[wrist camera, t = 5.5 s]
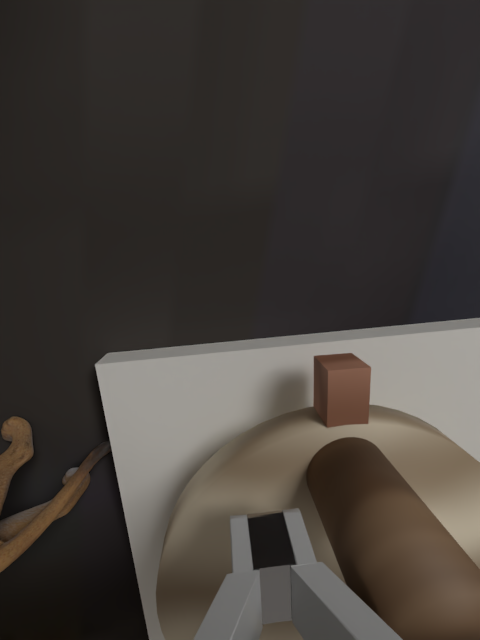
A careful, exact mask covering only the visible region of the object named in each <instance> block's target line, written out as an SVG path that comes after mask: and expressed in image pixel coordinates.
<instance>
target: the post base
mask: <svg viewBox="0 0 480 640" xmlns="http://www.w3.org/2000/svg"><path fill="white" fill-rule="evenodd" d="M343 353H352V354H354V355H355V356H356V357H358V358H359V359H361V360H362V361H363V362H365V363H366V364H367V365H369V366H370V367H371V382H370V402H369V404H370V405H379V406H383V407H387V408H391V409H396V410H400V411H402V412H405V413H407V414H410V415H412V416H415V417H418V418H420V419H421V420H423V421H425V422H427V423H428V424H430V425H432V426H434V427H435V428H437V429H438V430H439V431H441V432H442V433H443V434H444V435H446V436H447V437H448V438H449V439H451V440H452V441H453V442H455V443H456V444H457V445H458V446H460V447H461V448H462V449H463V450H465V451H466V452H467V453H468V454H470V455H471V456H472V457H473V458H475V459H476V460H477V461H478V462H480V318H473V319H462V320H452V321H441V322H431V323H420V324H410V325H399V326H389V327H378V328H367V329H357V330H346V331H336V332H325V333H315V334H304V335H294V336H283V337H273V338H262V339H251V340H241V341H230V342H220V343H209V344H199V345H188V346H178V347H167V348H157V349H146V350H135V351H125V352H114V353H107V354H106V355H105V356H104V357H103V358H102V359H101V360H99V361H98V362H97V363H96V364H95V368H96V373H97V378H98V383H99V388H100V393H101V398H102V403H103V408H104V413H105V418H106V423H107V429H108V434H109V439H110V444H111V449H112V454H113V459H114V464H115V469H116V474H117V479H118V484H119V489H120V494H121V499H122V505H123V510H124V515H125V520H126V525H127V530H128V535H129V540H130V545H131V550H132V555H133V560H134V565H135V570H136V575H137V581H138V586H139V591H140V596H141V601H142V606H143V611H144V616H145V621H146V626H147V631H148V636H149V640H165V638H164V636H163V633H162V631H161V627H160V623H159V619H158V615H157V606H156V586H157V576H158V570H159V564H160V559H161V553H162V548H163V543H164V537H165V533H166V530H167V526H168V522H169V519H170V516H171V514H172V512H173V509H174V507H175V505H176V503H177V500H178V498H179V497H180V495H181V494H182V492H183V490H184V489H185V487H186V486H187V484H188V483H189V481H190V480H191V479H192V477H193V476H194V475H195V474H196V473H197V471H198V470H199V469H200V468H201V467H202V466H203V464H204V463H205V462H206V461H208V460H209V459H210V458H211V457H212V456H213V455H214V454H215V453H216V452H217V451H218V450H220V449H221V448H222V447H223V446H225V445H226V444H228V443H229V442H230V441H232V440H233V439H235V438H236V437H237V436H239V435H240V434H242V433H244V432H246V431H247V430H249V429H251V428H253V427H255V426H257V425H258V424H260V423H262V422H265V421H267V420H270V419H272V418H275V417H277V416H280V415H282V414H285V413H288V412H292V411H296V410H299V409H303V408H307V407H313V399H314V356H317V355H330V354H343Z"/></svg>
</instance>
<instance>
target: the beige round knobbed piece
mask: <svg viewBox="0 0 480 640" xmlns="http://www.w3.org/2000/svg"><path fill="white" fill-rule="evenodd" d="M370 382H371V367H370V366H369V365H367V364H366V363H365V362H363V361H362V360H361V359H359V358H358V357H356V356H355V355H354V354H352V353H343V354H330V355H317V356H314V399H313V407H307V408H303V409H299V410H296V411H292V412H288V413H285V414H282V415H280V416H277V417H275V418H272V419H270V420H267V421H265V422H262V423H260V424H258V425H257V426H255V427H253V428H251V429H249V430H247V431H246V432H244V433H242V434H240V435H239V436H237V437H236V438H235V439H233V440H232V441H230V442H229V443H228V444H226V445H225V446H223V447H222V448H221V449H220V450H218V451H217V452H216V453H215V454H214V455H213V456H212V457H211V458H210V459H209V460H208V461H206V462H205V463H204V464H203V466H202V467H201V468H200V469H199V470H198V471H197V473H196V474H195V475H194V476H193V477H192V479H191V480H190V481H189V483H188V484H187V486H186V487H185V489H184V490H183V492H182V494H181V495H180V497H179V498H178V500H177V503H176V505H175V507H174V509H173V512H172V514H171V516H170V519H169V522H168V526H167V530H166V533H165V537H164V543H163V548H162V553H161V559H160V564H159V570H158V576H157V586H156V606H157V615H158V619H159V623H160V627H161V631H162V633H163V636H164V638H165V640H193V639H194V637H195V635H196V633H197V631H198V629H199V627H200V625H201V623H202V621H203V620H204V618H205V616H206V614H207V612H208V610H209V608H210V606H211V604H212V602H213V600H214V598H215V596H216V594H217V592H218V590H219V588H220V586H221V584H222V582H223V581H224V579H225V577H226V575H227V574H230V573H232V559H231V538H230V516H234V515H245V514H246V515H247V514H253V513H263V512H270V511H278V510H281V511H282V510H287V509H295V508H298V509H299V510H300V512H301V515H302V518H303V521H304V524H305V527H306V530H307V533H308V536H309V539H310V542H311V545H312V548H313V552H314V555H315V558H316V561H317V562H323V563H324V564H325V565H326V566H327V567H328V568H329V569H330V570H331V571H332V572H333V573H334V574H335V575H336V576H338V577H339V578H340V579H341V580H342V581H343V582H344V583H345V584H346V585H347V586H348V587H349V588H350V589H351V590H352V591H353V592H354V593H355V594H356V595H357V596H358V597H359V598H360V599H361V600H362V601H363V602H364V603H365V604H366V605H368V606H369V607H370V608H371V609H372V610H373V611H374V612H375V613H376V614H377V615H378V616H379V617H380V618H381V619H382V620H383V621H384V622H385V623H386V624H387V625H388V626H389V627H390V628H391V629H392V630H393V631H394V632H395V633H396V634H398V635H399V636H400V637H401V638H402V639H403V640H480V462H478V461H477V460H476V459H475V458H473V457H472V456H471V455H470V454H468V453H467V452H466V451H465V450H463V449H462V448H461V447H460V446H458V445H457V444H456V443H455V442H453V441H452V440H451V439H449V438H448V437H447V436H446V435H444V434H443V433H442V432H441V431H439V430H438V429H437V428H435V427H434V426H432V425H430V424H428V423H427V422H425V421H423V420H421V419H420V418H418V417H415V416H412V415H410V414H407V413H405V412H402V411H400V410H396V409H391V408H387V407H383V406H379V405H370V404H369V402H370ZM259 640H304V639H303V638H302V636H301V635H300V633H299V632H298V630H297V629H296V627H295V626H294V624H293V623H292V621H283V622H275V623H269V624H263V628H262V631H261V635H260V638H259Z"/></svg>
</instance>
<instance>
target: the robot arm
mask: <svg viewBox="0 0 480 640" xmlns="http://www.w3.org/2000/svg"><path fill="white" fill-rule="evenodd" d="M230 538H231V559H232V573H230V574H227V575H226V577H225V579H224V581H223V582H222V584H221V586H220V588H219V590H218V592H217V594H216V596H215V598H214V600H213V602H212V604H211V606H210V608H209V610H208V612H207V614H206V616H205V618H204V620H203V621H202V623H201V625H200V627H199V629H198V631H197V633H196V635H195V637H194V639H193V640H259V638H260V635H261V631H262V628H263V624H269V623H275V622H283V621H292V623H293V624H294V626H295V627H296V629H297V630H298V632H299V633H300V635H301V636H302V638H303V639H304V640H403V639H402V638H401V637H400V636H399V635H398V634H396V633H395V632H394V631H393V630H392V629H391V628H390V627H389V626H388V625H387V624H386V623H385V622H384V621H383V620H382V619H381V618H380V617H379V616H378V615H377V614H376V613H375V612H374V611H373V610H372V609H371V608H370V607H369V606H368V605H366V604H365V603H364V602H363V601H362V600H361V599H360V598H359V597H358V596H357V595H356V594H355V593H354V592H353V591H352V590H351V589H350V588H349V587H348V586H347V585H346V584H345V583H344V582H343V581H342V580H341V579H340V578H339V577H338V576H336V575H335V574H334V573H333V572H332V571H331V570H330V569H329V568H328V567H327V566H326V565H325V564H324V563H323V562H317V561H316V558H315V555H314V552H313V548H312V545H311V542H310V539H309V536H308V533H307V530H306V527H305V524H304V521H303V518H302V515H301V512H300V510H299V509H298V508H295V509H287V510H282V511H281V510H278V511H270V512H263V513H253V514H247V515H246V514H245V515H234V516H230Z"/></svg>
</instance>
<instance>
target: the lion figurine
mask: <svg viewBox="0 0 480 640" xmlns="http://www.w3.org/2000/svg"><path fill="white" fill-rule="evenodd" d="M1 433H2V437H3V439H5V440H7V441H12V443H11V445H10V447H9V448H8V449H7V450H6V451H5V452H4V453H3V454H1V455H0V515H1V511H2V507H3V504H4V502H5V499H6V496H7V492H8V488H9V485H10V481H11V479H12V477H13V475H14V474H15V472H16V471H17V470H18V469H19V468H20V467H21V466H22V465H23V464H25V463H26V462H27V461H29V460H30V459H31V458H32V456H33V453H34V449H33V441H32V429H31V426H30V424H29V423H28V422H27V421H26V420H25V419H23V418H20V417H11V418H9V419H8V420H6V421H5V422H4V423H3V426H2V429H1ZM110 451H112V449H111V444H110V441H105V442H103V443H101V444H100V445H99V446H97V447H96V448H95V449H94V450H93V451H92V452H91V453H90V454H89V455H88V457H87V458H86V459H85V460H84V461H83V462H82V464H81V465H80V467H76V468H71V469H69V470H68V471H67V472H66V474H65V476H64V477H63V479H62V483H63V485H65V486H64V487H63V488H62V489H61V490H60V491H59V492H58V493H57V495H56V496H55V497H54V498H53V499H52V500H50V501H48V502H46V503H44V504H41V505H38V506H35V507H33V508H30V509H28V510H25V511H22V512H20V513H17V514H15V515H12V516H10V517H7V518H5V519H2V520H0V573H1V572H2V571H3V570H4V569H5V568H7V567H8V566H9V565H10V564H11V563H13V562H14V561H15V560H16V559H17V558H18V557H19V556H20V555H21V554H22V553H24V552H25V551H26V550H27V549H28V548H29V547H30V546H31V545H32V544H33V543H34V542H35V540H36V539H37V538H38V537H39V536H40V535H41V534H42V533H43V532H44V531H45V530H46V528H47V527H48V526H49V525H50V524H51V523H52V522H53V521H54V520H56V519H58V518H60V517H62V516H64V515H66V514H67V513H68V512H69V511H70V510H71V509H72V508H73V507H74V506H75V504H76V503H77V501H78V500H79V498H80V497H81V495H82V494H83V493H84V491H85V490H86V489H87V487H88V485H89V483H90V475H89V471H90V470H91V469H92V467H93V466H94V465H95V464H96V463H97V462H98V461H99V460H100V459H101V458H102V457H103V456H105V455H106V454H108V453H109V452H110Z"/></svg>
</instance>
